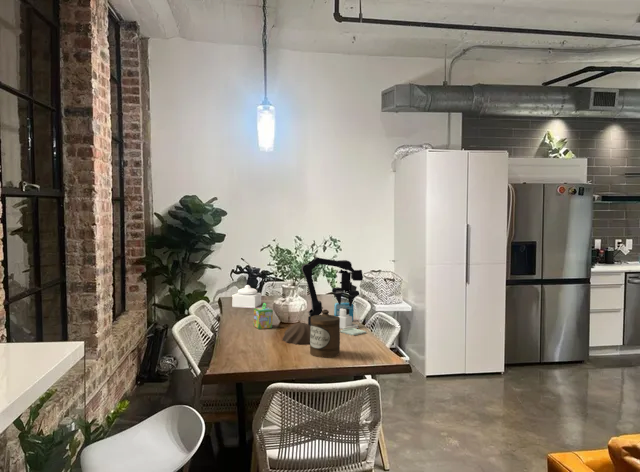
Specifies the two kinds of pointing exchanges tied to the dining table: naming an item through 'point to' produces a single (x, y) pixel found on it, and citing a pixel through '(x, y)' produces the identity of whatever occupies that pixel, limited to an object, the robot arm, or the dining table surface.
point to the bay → (351, 326)
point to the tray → (352, 331)
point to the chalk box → (263, 317)
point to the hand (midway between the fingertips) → (344, 305)
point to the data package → (343, 305)
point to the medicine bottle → (345, 318)
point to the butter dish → (246, 298)
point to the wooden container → (325, 335)
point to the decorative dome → (298, 334)
